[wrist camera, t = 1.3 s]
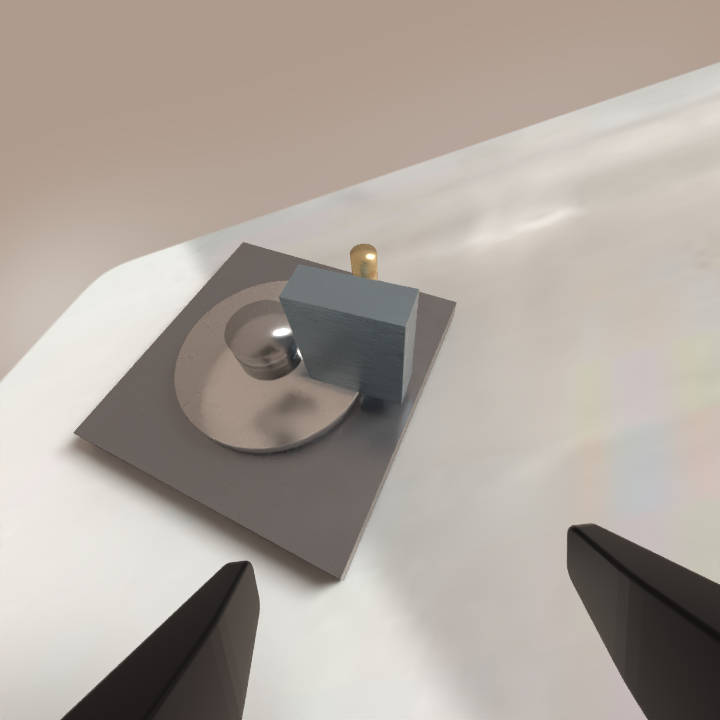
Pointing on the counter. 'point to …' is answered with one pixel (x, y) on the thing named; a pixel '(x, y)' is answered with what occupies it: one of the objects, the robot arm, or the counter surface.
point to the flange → (295, 358)
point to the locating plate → (277, 469)
